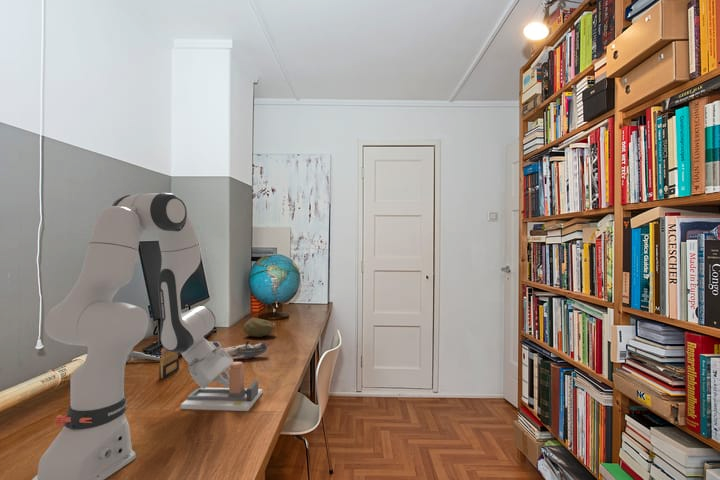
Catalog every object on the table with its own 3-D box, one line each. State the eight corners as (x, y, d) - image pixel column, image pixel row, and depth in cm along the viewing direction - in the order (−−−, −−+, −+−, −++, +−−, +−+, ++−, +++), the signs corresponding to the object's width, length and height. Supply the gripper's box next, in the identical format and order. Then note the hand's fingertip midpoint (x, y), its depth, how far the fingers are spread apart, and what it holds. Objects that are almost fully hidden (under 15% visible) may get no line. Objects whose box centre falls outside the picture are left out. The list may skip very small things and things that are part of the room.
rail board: (248, 411, 123) (248, 393, 123) (180, 408, 125) (180, 391, 125) (262, 393, 137) (262, 377, 137) (201, 391, 139) (201, 376, 139)
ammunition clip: (163, 379, 151) (163, 348, 151) (159, 379, 151) (158, 348, 151) (179, 369, 161) (178, 340, 161) (174, 369, 162) (174, 340, 161)
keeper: (240, 399, 128) (240, 365, 128) (228, 398, 129) (228, 365, 129) (245, 393, 133) (244, 361, 133) (233, 393, 133) (233, 361, 133)
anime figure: (200, 346, 179) (266, 336, 182) (202, 362, 179) (268, 351, 183) (194, 353, 170) (263, 341, 173) (196, 369, 170) (266, 358, 173)
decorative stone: (277, 334, 218) (277, 317, 218) (270, 340, 207) (270, 321, 207) (248, 333, 220) (248, 316, 220) (239, 339, 209) (239, 320, 209)
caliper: (125, 363, 170) (125, 348, 170) (127, 362, 171) (127, 348, 171) (173, 362, 171) (173, 348, 171) (174, 361, 172) (174, 347, 172)
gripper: (192, 358, 121) (223, 390, 120) (220, 340, 141) (246, 368, 141) (178, 372, 121) (209, 404, 121) (208, 352, 142) (234, 380, 141)
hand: (229, 384), depth 131 cm, fingers closed, pressing on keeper
